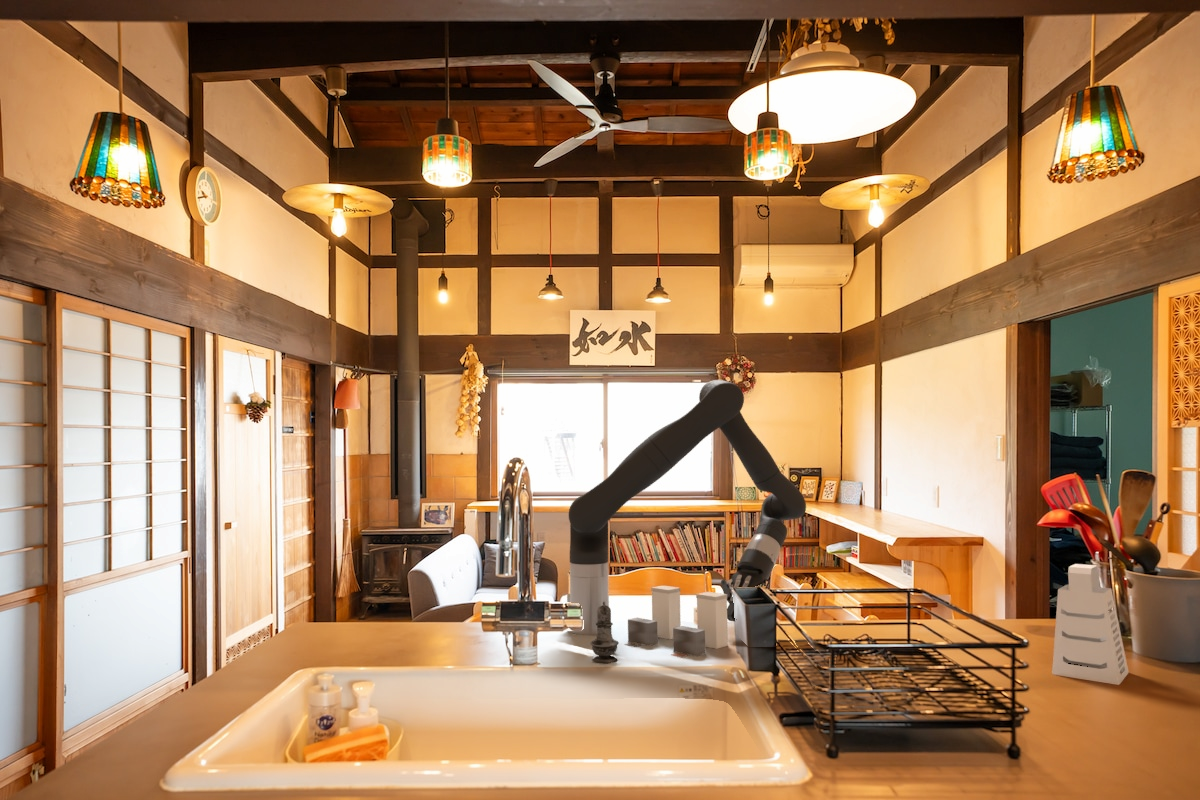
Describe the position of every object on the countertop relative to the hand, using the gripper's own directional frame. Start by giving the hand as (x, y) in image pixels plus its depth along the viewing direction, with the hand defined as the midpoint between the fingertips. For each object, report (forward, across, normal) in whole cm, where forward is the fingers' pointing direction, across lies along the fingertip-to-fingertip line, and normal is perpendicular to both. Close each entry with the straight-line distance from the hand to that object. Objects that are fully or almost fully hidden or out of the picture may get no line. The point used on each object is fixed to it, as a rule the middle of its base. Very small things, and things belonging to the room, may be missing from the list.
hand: (730, 619), depth 165 cm
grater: (-16, +62, +24) cm, 69 cm away
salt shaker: (+24, -12, -15) cm, 31 cm away
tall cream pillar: (+8, -13, -1) cm, 15 cm away
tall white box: (+8, 0, -1) cm, 8 cm away
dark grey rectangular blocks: (+11, -6, -3) cm, 13 cm away
